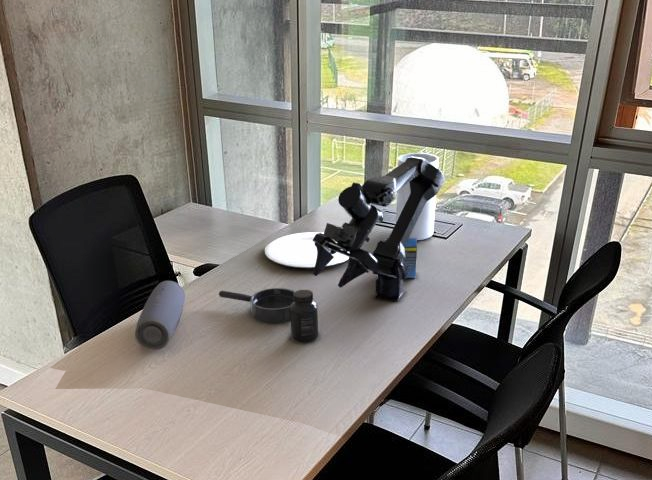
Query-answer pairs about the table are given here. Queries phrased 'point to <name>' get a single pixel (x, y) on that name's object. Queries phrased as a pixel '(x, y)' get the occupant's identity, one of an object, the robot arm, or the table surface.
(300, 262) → the plate
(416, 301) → the table surface
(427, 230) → the cylinder vase
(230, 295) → the pan handle
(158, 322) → the bluetooth speaker
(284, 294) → the pan
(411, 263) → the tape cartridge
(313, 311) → the supplement bottle
